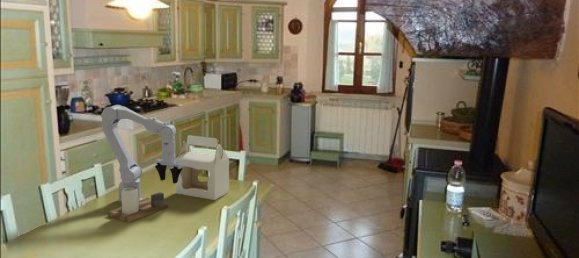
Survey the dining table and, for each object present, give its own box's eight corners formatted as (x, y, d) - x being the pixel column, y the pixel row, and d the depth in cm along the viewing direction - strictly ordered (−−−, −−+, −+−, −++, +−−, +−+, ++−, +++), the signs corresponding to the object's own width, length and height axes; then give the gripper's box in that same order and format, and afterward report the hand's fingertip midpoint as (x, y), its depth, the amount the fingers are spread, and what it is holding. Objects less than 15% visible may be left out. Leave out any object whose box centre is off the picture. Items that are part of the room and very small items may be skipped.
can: (132, 219, 182) (131, 191, 180) (118, 217, 184) (117, 189, 182) (141, 214, 188) (141, 186, 186) (128, 212, 190) (127, 184, 188)
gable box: (229, 192, 220) (229, 136, 215) (215, 200, 208) (215, 141, 203) (190, 186, 228) (190, 132, 223) (175, 193, 216) (174, 136, 211)
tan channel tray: (108, 216, 184) (107, 199, 183) (147, 201, 202) (147, 187, 201) (128, 222, 178) (128, 205, 177) (167, 207, 196) (167, 192, 195)
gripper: (149, 151, 199) (150, 180, 201) (173, 156, 192) (174, 186, 194) (161, 148, 205) (162, 177, 207) (185, 153, 198) (185, 182, 200)
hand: (168, 181), depth 201 cm, fingers open, 7 cm apart
